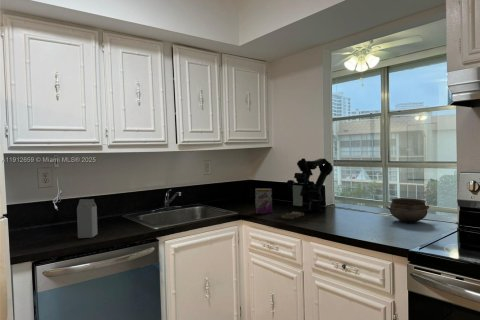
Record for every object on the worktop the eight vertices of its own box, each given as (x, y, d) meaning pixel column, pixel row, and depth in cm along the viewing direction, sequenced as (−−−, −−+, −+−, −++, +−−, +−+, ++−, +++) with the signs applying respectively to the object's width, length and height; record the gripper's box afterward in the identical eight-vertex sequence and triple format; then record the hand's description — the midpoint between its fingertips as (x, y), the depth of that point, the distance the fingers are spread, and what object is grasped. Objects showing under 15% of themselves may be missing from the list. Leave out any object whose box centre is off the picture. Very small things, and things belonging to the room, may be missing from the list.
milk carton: (83, 234, 167) (82, 198, 167) (97, 234, 168) (96, 198, 167) (77, 238, 160) (76, 200, 160) (92, 237, 161) (91, 200, 160)
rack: (293, 215, 206) (293, 211, 205) (304, 216, 200) (304, 212, 200) (281, 218, 196) (281, 214, 196) (292, 220, 190) (292, 216, 190)
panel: (294, 204, 205) (294, 185, 204) (302, 205, 201) (302, 185, 201) (293, 205, 203) (292, 185, 203) (300, 206, 200) (300, 186, 199)
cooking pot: (417, 217, 192) (417, 197, 192) (440, 224, 174) (440, 202, 173) (378, 219, 190) (378, 198, 189) (397, 226, 171) (397, 204, 170)
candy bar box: (255, 214, 212) (254, 189, 211) (255, 212, 217) (255, 188, 216) (272, 214, 211) (271, 189, 210) (272, 212, 216) (271, 188, 215)
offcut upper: (292, 215, 203) (292, 212, 202) (300, 216, 198) (300, 213, 198) (289, 216, 200) (288, 213, 200) (297, 217, 196) (297, 214, 195)
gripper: (288, 167, 210) (278, 186, 203) (313, 168, 198) (304, 188, 190) (294, 178, 217) (285, 197, 209) (319, 180, 204) (311, 199, 196)
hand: (296, 195), depth 201 cm, fingers closed on panel, 5 cm apart
